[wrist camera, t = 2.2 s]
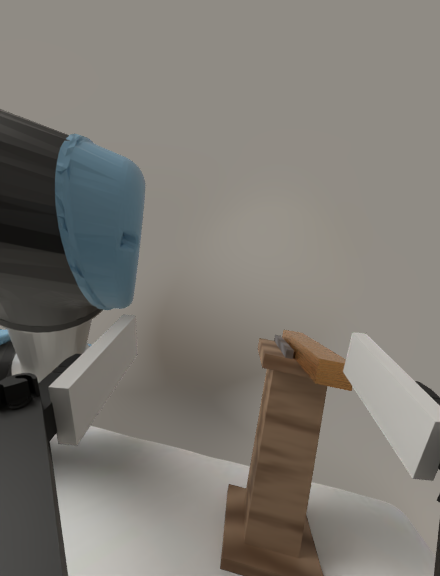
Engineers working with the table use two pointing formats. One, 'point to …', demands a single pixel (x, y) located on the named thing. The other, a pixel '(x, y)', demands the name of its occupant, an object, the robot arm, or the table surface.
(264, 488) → the stand
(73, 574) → the table surface
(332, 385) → the wood grain block
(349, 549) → the table surface
